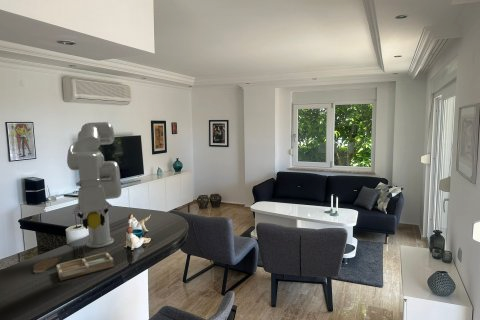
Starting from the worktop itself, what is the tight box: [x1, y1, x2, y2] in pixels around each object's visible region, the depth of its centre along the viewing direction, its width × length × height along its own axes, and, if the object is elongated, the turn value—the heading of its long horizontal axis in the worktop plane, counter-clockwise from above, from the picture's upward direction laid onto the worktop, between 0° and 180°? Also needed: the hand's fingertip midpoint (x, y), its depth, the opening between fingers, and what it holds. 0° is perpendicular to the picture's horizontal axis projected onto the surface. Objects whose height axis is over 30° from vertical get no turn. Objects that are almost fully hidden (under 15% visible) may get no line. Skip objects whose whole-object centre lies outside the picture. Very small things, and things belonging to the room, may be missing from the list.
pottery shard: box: [32, 256, 63, 274], centre depth 145 cm, size 8×3×15 cm
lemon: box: [86, 211, 101, 230], centre depth 140 cm, size 6×6×8 cm
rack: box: [55, 251, 115, 281], centre depth 140 cm, size 10×20×3 cm, turn 125°
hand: (94, 226), depth 141 cm, fingers closed on lemon, 5 cm apart
